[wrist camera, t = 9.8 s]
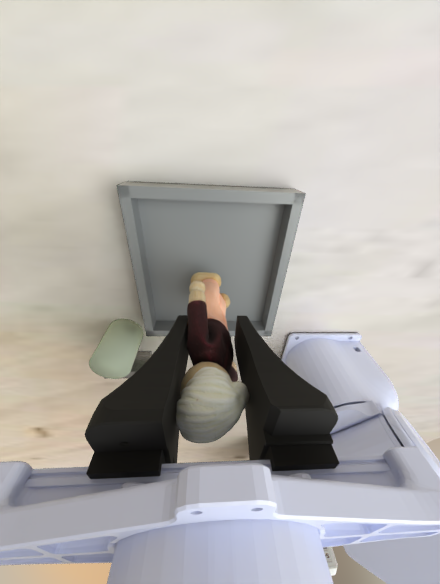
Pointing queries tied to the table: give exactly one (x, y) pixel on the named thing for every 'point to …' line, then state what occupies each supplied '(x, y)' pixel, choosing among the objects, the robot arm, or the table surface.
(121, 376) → the pale green rounded block
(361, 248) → the table surface
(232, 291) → the tray
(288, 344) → the robot arm
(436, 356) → the table surface
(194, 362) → the grandmother figurine
